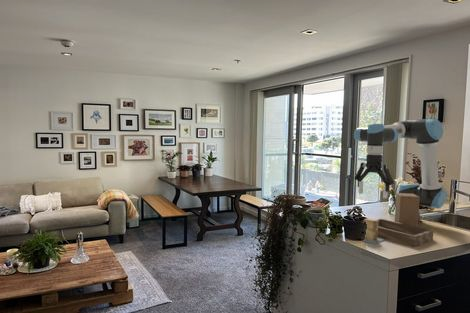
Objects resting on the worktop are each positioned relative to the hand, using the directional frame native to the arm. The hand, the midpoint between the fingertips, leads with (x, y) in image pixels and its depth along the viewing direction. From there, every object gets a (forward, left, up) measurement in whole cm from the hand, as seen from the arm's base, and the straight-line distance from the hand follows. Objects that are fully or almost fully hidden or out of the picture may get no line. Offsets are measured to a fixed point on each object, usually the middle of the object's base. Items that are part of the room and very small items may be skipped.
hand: (372, 195), depth 172 cm
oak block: (+1, 0, -22) cm, 22 cm away
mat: (+1, 0, -23) cm, 23 cm away
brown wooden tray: (-17, +4, -23) cm, 29 cm away
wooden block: (-35, 0, -23) cm, 42 cm away
